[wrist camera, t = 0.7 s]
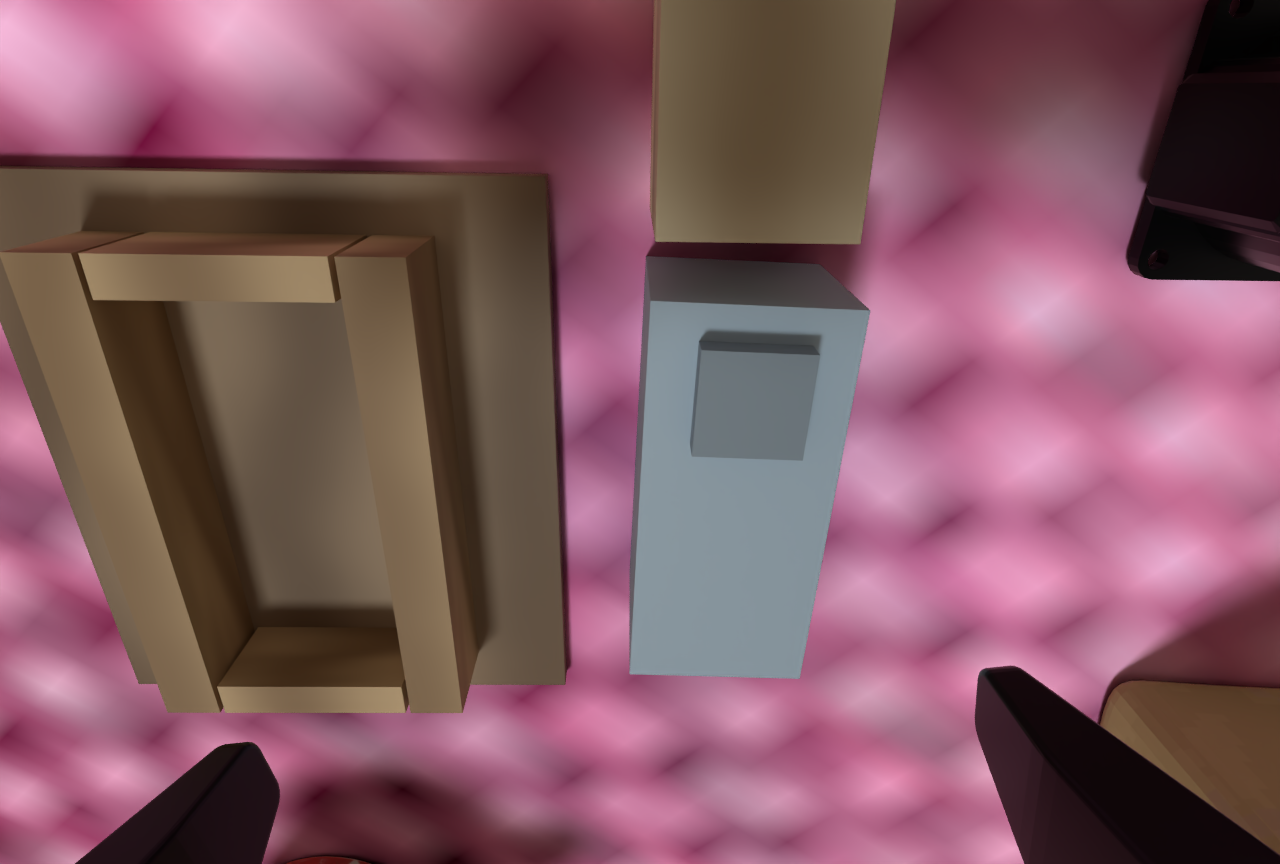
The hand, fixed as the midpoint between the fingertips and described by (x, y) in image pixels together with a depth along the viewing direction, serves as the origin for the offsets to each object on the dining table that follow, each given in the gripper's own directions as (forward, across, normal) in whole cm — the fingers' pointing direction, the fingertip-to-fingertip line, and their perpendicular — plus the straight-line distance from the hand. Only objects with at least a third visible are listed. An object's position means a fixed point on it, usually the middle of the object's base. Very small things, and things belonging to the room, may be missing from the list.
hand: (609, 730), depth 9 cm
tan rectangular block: (+12, -4, -7) cm, 14 cm away
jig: (+12, +9, +1) cm, 15 cm away
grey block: (+12, -2, +2) cm, 13 cm away
